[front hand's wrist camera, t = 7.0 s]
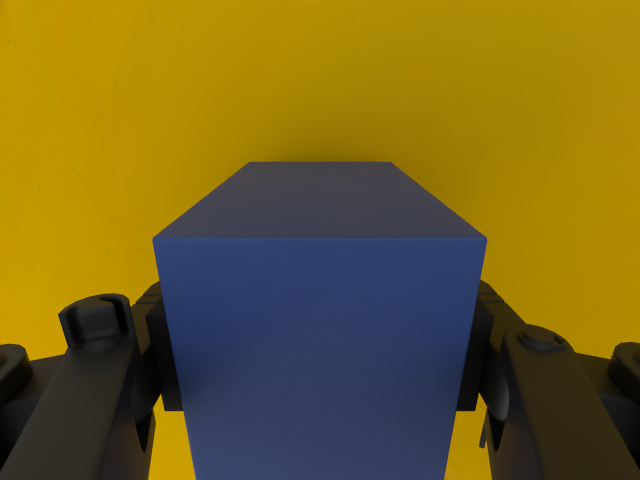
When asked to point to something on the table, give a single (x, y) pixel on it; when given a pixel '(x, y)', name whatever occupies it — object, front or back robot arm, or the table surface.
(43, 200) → the table surface
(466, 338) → the brick
